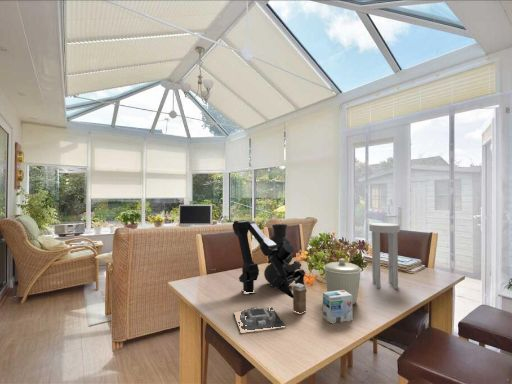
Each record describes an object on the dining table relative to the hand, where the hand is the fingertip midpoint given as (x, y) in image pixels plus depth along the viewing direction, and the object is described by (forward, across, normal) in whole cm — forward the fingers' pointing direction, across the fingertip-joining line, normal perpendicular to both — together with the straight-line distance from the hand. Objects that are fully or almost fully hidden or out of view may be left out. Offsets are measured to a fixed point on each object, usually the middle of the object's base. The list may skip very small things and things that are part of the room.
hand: (299, 294), depth 121 cm
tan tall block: (+5, 0, +6) cm, 8 cm away
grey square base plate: (0, -19, +11) cm, 22 cm away
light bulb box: (+16, +6, -5) cm, 18 cm away
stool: (+14, +65, -3) cm, 66 cm away
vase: (-16, +21, +27) cm, 37 cm away
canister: (+11, +25, +1) cm, 27 cm away
